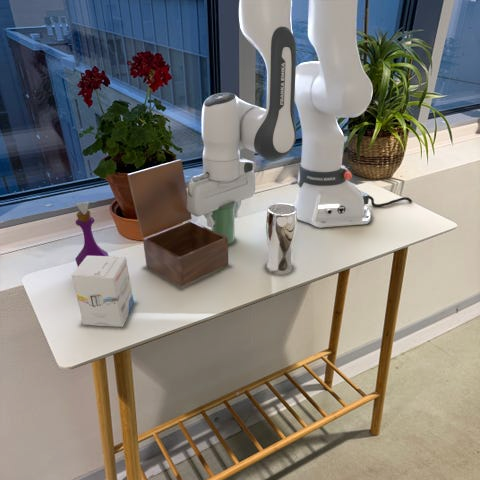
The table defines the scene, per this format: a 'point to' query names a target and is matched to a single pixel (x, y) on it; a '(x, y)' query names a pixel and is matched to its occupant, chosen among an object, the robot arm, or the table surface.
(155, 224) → the lid
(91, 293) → the ink box
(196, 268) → the box
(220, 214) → the green cylinder canister
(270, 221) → the beer glass
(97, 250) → the perfume bottle
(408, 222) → the table surface
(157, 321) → the table surface
